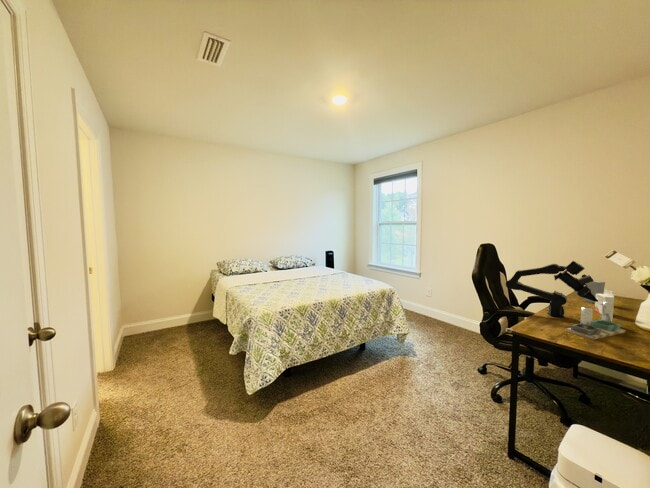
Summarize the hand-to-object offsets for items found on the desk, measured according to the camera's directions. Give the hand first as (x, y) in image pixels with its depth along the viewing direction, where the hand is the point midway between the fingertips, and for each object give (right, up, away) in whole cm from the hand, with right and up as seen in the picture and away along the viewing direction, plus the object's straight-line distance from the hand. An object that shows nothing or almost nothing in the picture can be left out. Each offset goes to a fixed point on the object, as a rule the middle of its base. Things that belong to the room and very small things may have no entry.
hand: (596, 299), depth 162 cm
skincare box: (+35, -10, +38) cm, 53 cm away
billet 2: (+3, -13, -3) cm, 14 cm away
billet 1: (-21, -13, -16) cm, 30 cm away
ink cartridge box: (+19, -12, +15) cm, 27 cm away
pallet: (-13, -14, -13) cm, 24 cm away
